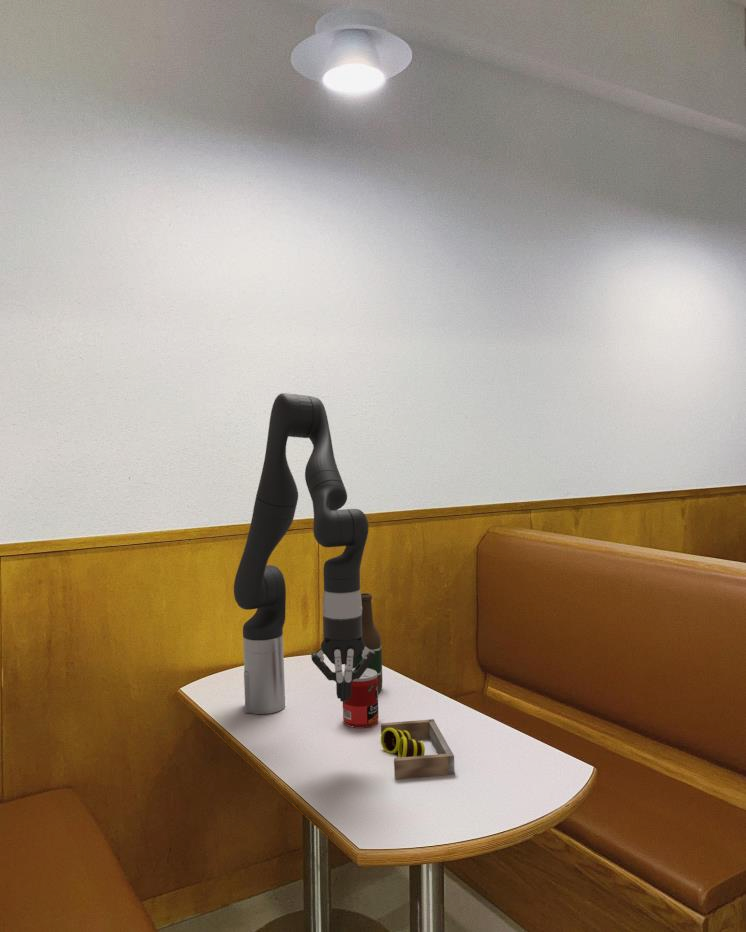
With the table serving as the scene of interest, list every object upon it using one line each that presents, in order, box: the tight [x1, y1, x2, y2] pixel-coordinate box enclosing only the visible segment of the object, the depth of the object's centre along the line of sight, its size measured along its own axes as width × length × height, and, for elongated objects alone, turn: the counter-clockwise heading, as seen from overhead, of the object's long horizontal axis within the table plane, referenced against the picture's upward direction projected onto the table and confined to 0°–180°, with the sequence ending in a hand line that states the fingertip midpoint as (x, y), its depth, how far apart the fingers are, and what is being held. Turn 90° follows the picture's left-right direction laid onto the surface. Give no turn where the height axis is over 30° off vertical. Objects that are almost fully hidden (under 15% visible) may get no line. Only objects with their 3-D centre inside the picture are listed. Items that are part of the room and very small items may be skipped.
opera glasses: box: [380, 728, 426, 758], centre depth 156 cm, size 10×5×5 cm, turn 27°
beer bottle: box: [353, 592, 383, 694], centre depth 193 cm, size 8×8×24 cm
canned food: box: [342, 668, 380, 728], centre depth 173 cm, size 8×8×11 cm
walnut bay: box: [380, 718, 456, 780], centre depth 155 cm, size 11×18×4 cm, turn 8°
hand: (343, 699), depth 153 cm, fingers closed
